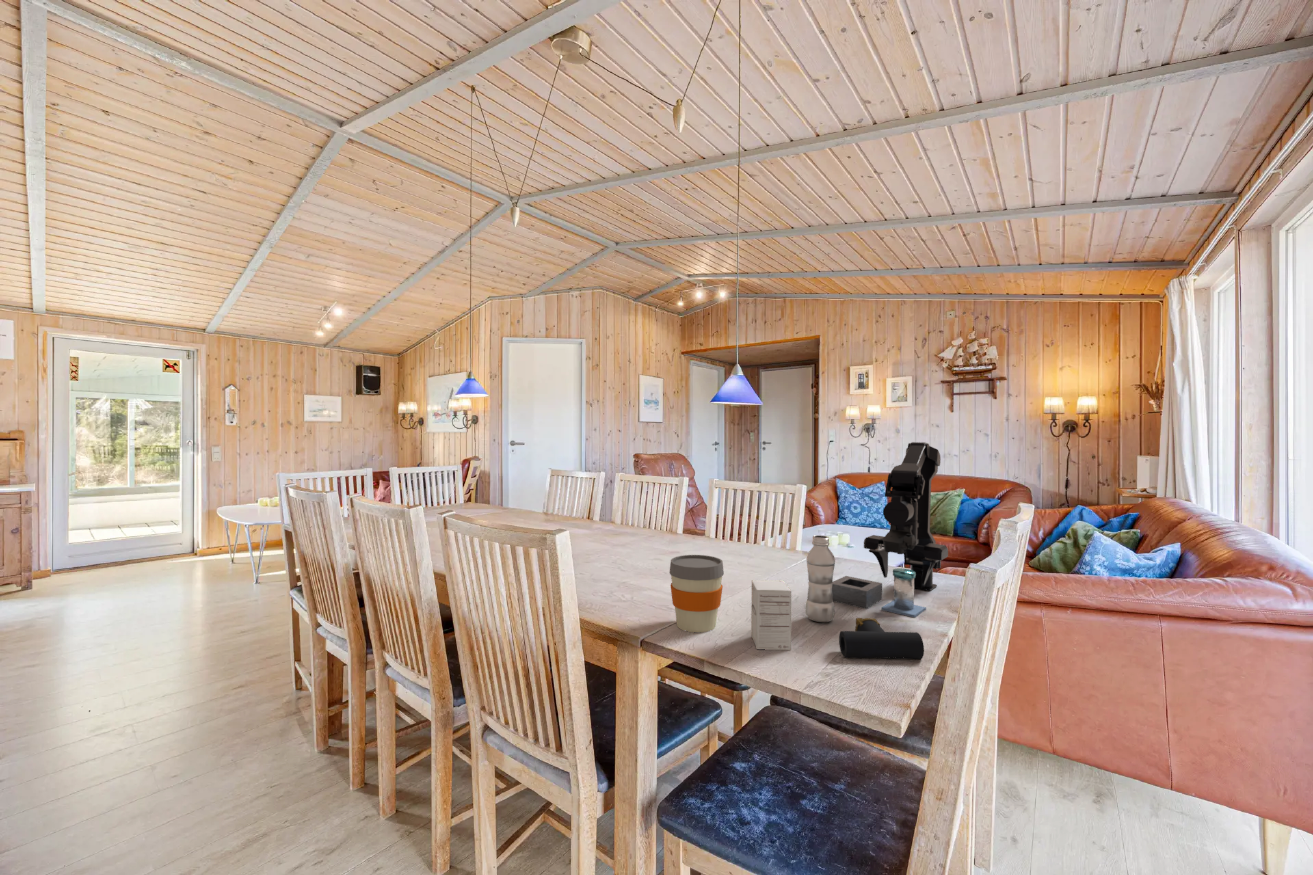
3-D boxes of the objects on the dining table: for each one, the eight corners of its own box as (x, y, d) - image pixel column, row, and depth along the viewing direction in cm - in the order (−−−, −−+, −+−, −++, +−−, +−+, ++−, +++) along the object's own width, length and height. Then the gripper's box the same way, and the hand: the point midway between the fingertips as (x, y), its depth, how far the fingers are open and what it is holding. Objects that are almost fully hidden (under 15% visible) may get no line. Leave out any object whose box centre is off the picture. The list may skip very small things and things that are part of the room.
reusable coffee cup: (701, 640, 116) (701, 571, 116) (658, 625, 125) (658, 561, 125) (734, 624, 126) (734, 560, 125) (692, 612, 134) (692, 552, 134)
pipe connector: (830, 614, 118) (900, 615, 117) (830, 638, 118) (899, 639, 118) (846, 636, 107) (924, 637, 106) (846, 662, 107) (923, 664, 106)
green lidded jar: (897, 602, 140) (897, 567, 140) (918, 607, 136) (918, 570, 136) (889, 607, 136) (889, 571, 136) (910, 612, 133) (911, 575, 133)
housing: (845, 591, 151) (846, 575, 151) (881, 599, 144) (882, 583, 144) (829, 599, 144) (829, 583, 144) (866, 608, 137) (866, 591, 137)
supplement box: (750, 636, 119) (750, 579, 118) (784, 636, 118) (784, 579, 118) (755, 650, 111) (756, 589, 111) (791, 650, 111) (792, 589, 111)
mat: (893, 602, 142) (893, 600, 142) (925, 609, 136) (925, 607, 136) (881, 609, 136) (881, 607, 136) (914, 617, 131) (914, 615, 131)
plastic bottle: (810, 613, 133) (811, 532, 133) (838, 619, 129) (839, 536, 129) (801, 621, 128) (801, 537, 128) (829, 627, 124) (830, 540, 124)
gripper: (854, 518, 137) (854, 580, 137) (934, 528, 124) (933, 596, 124) (872, 513, 145) (872, 571, 145) (949, 522, 132) (948, 586, 132)
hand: (904, 580), depth 136 cm, fingers open, 9 cm apart
